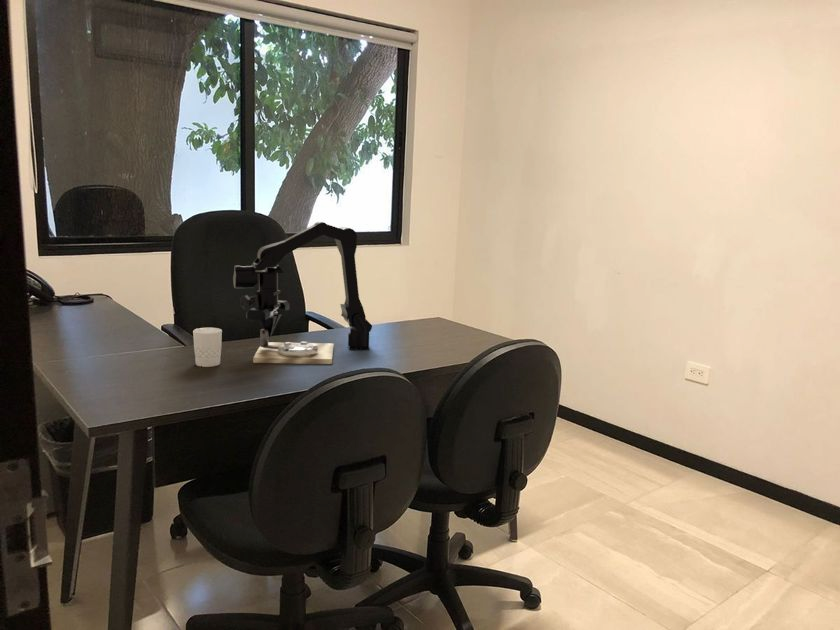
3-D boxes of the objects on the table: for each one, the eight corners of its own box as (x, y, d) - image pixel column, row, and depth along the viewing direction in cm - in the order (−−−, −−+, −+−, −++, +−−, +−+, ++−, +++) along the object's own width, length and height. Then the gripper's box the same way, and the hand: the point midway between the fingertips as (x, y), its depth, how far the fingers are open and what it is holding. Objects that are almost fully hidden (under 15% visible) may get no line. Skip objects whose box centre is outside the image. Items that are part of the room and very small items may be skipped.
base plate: (333, 347, 213) (333, 343, 212) (331, 363, 193) (331, 358, 193) (262, 346, 210) (262, 341, 210) (253, 362, 190) (253, 357, 190)
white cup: (187, 364, 185) (186, 330, 184) (208, 359, 192) (207, 326, 190) (207, 369, 182) (207, 334, 180) (228, 363, 189) (227, 330, 187)
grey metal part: (323, 349, 203) (323, 330, 202) (309, 358, 192) (310, 338, 190) (268, 344, 206) (268, 325, 205) (252, 353, 195) (252, 333, 193)
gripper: (258, 281, 210) (258, 328, 213) (229, 290, 192) (230, 341, 195) (290, 283, 207) (290, 331, 211) (264, 292, 190) (264, 344, 193)
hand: (268, 336), depth 202 cm, fingers closed
